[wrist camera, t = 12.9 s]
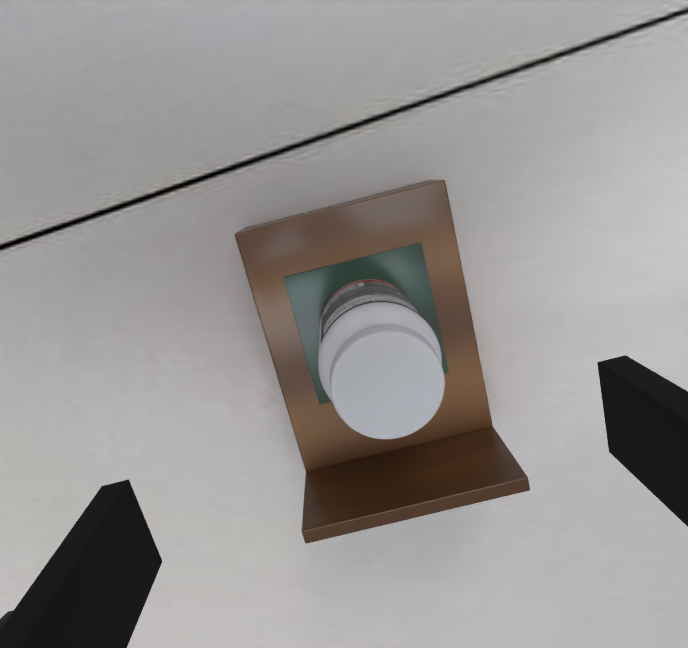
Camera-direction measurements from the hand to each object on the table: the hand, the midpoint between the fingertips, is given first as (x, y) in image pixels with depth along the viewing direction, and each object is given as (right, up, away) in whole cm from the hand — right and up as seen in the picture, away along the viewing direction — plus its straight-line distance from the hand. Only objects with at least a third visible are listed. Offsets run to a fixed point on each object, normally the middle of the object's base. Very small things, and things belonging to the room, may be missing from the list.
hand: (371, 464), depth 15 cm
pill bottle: (+1, +4, +17) cm, 17 cm away
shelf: (+1, +4, +21) cm, 21 cm away
